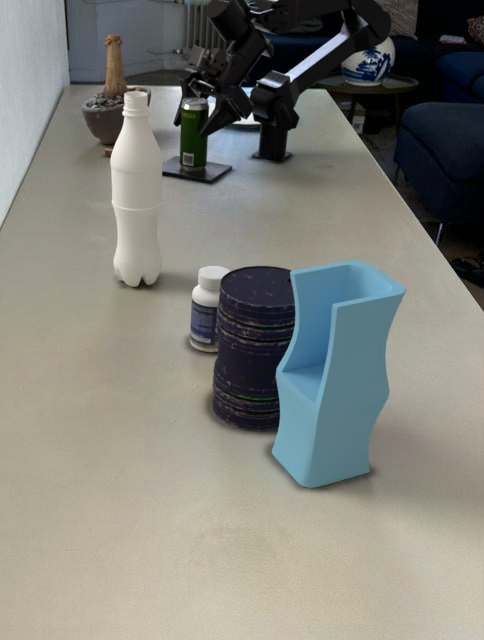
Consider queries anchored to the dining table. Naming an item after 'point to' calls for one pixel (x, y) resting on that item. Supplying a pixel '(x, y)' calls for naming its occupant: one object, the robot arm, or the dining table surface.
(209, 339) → the pill bottle
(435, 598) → the dining table surface
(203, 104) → the beer can
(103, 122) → the planter
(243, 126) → the plate
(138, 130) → the water bottle
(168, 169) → the spatula
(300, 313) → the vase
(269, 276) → the storage jar
